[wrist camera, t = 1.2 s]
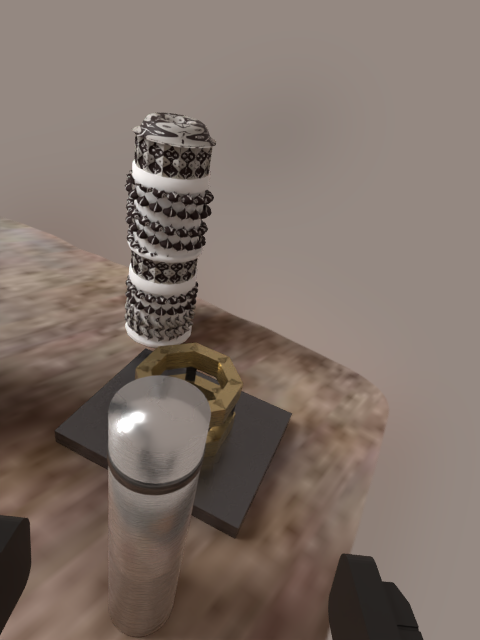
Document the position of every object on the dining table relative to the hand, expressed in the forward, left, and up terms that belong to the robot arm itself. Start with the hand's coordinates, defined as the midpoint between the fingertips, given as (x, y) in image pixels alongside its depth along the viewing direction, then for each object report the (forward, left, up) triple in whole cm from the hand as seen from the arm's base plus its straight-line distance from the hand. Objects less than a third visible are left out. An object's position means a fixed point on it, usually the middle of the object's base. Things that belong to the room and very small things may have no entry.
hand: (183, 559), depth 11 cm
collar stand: (-9, +20, -22) cm, 31 cm away
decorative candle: (-20, +33, -22) cm, 45 cm away
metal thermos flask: (-4, +6, -22) cm, 23 cm away
